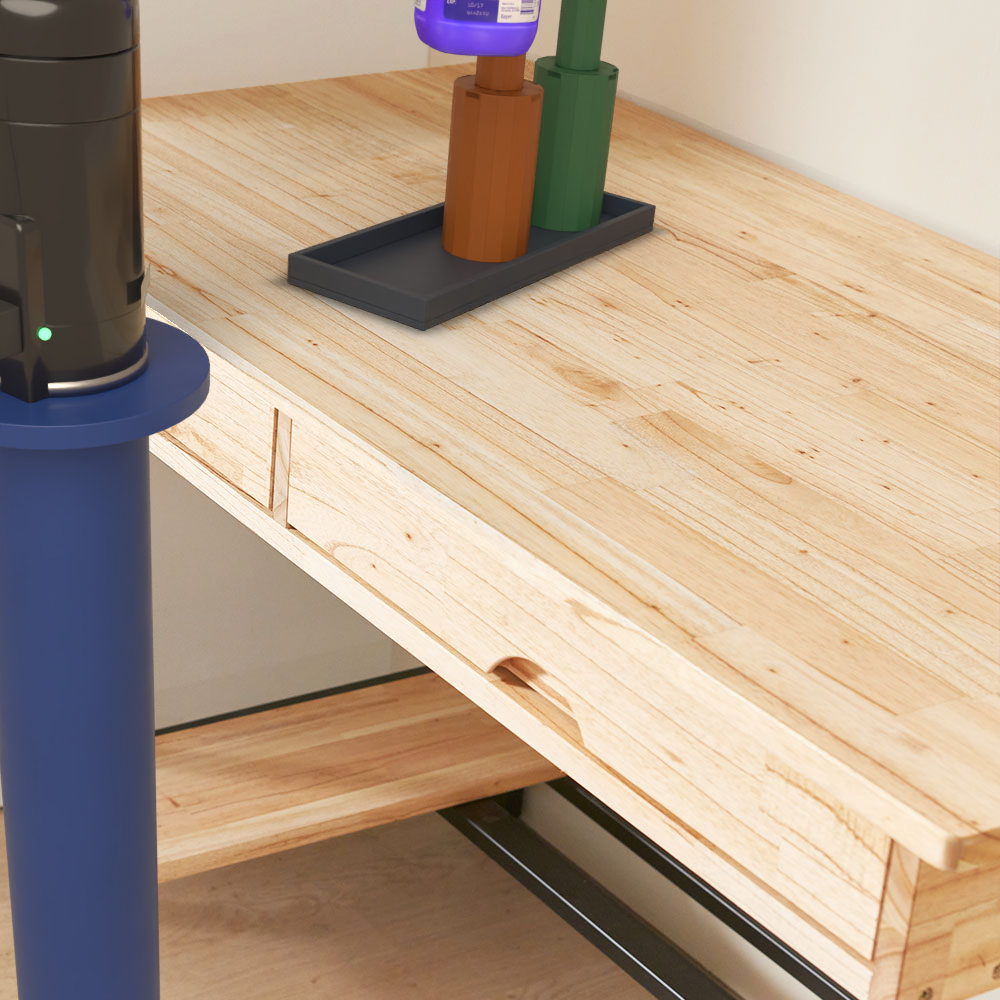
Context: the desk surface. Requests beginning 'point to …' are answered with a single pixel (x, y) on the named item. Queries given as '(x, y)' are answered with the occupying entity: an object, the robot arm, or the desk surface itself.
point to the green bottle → (574, 122)
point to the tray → (448, 263)
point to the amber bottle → (492, 161)
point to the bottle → (478, 26)
